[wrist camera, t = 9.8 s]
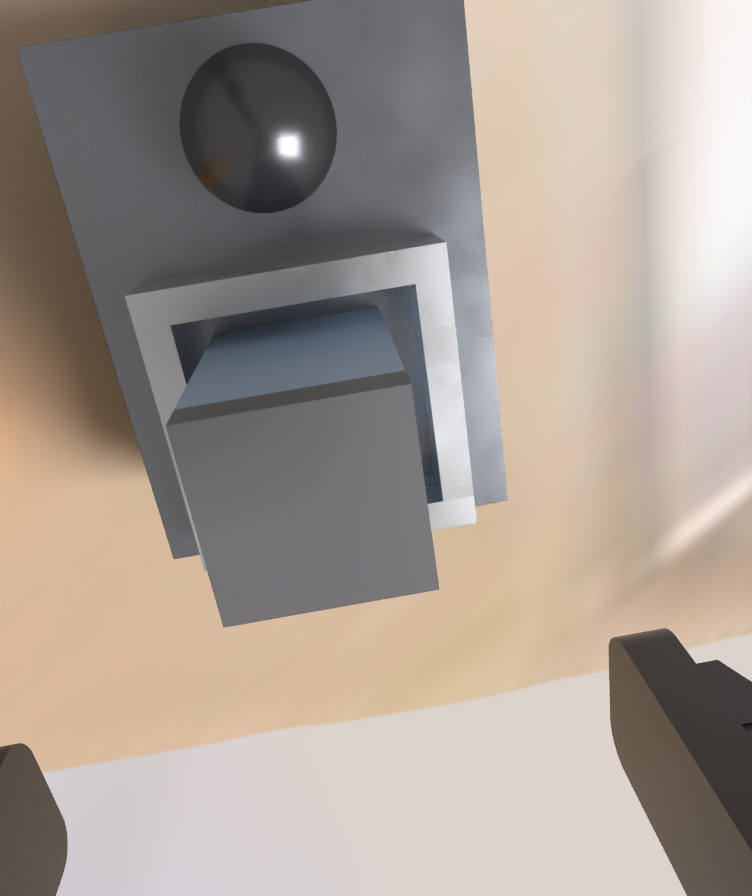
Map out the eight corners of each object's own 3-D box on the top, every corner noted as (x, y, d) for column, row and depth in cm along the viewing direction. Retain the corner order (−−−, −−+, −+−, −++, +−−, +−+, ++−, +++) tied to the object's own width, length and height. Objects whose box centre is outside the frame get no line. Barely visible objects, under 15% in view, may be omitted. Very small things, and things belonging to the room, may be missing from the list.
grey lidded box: (213, 334, 22) (165, 425, 15) (378, 306, 22) (411, 384, 15) (250, 482, 24) (223, 627, 17) (400, 456, 24) (439, 589, 17)
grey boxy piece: (91, 74, 25) (-16, 36, 17) (423, 20, 25) (477, -43, 17) (201, 475, 32) (162, 591, 23) (467, 429, 32) (522, 528, 23)
